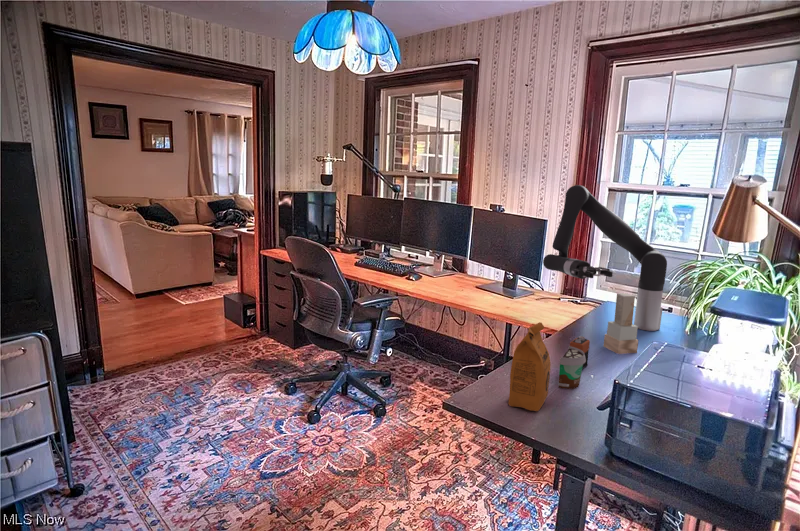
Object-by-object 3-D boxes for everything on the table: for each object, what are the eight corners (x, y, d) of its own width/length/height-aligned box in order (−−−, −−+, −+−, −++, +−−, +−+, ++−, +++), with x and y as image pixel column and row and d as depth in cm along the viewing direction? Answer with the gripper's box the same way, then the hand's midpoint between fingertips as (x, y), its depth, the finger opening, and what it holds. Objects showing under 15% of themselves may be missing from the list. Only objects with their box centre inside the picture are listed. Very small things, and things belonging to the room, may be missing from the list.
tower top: (622, 333, 171) (624, 320, 171) (636, 339, 165) (637, 326, 164) (606, 334, 170) (608, 321, 169) (619, 340, 163) (621, 327, 162)
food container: (578, 395, 130) (582, 362, 129) (556, 389, 133) (559, 357, 132) (586, 380, 141) (589, 349, 139) (566, 375, 144) (569, 345, 142)
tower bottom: (621, 345, 173) (623, 333, 172) (636, 353, 165) (638, 340, 164) (603, 346, 171) (604, 334, 170) (617, 354, 163) (619, 341, 163)
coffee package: (553, 399, 127) (560, 324, 123) (538, 417, 117) (545, 335, 113) (519, 389, 133) (524, 317, 129) (502, 405, 123) (507, 327, 119)
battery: (587, 365, 152) (590, 337, 150) (580, 371, 147) (583, 342, 145) (574, 362, 155) (577, 334, 153) (567, 367, 150) (569, 339, 148)
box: (632, 326, 164) (635, 296, 162) (620, 326, 164) (624, 296, 162) (624, 321, 169) (627, 292, 167) (613, 321, 169) (616, 292, 167)
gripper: (562, 260, 190) (586, 266, 175) (592, 258, 194) (618, 264, 178) (561, 277, 192) (585, 285, 176) (591, 276, 195) (617, 283, 179)
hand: (602, 275), depth 177 cm, fingers open, 8 cm apart
